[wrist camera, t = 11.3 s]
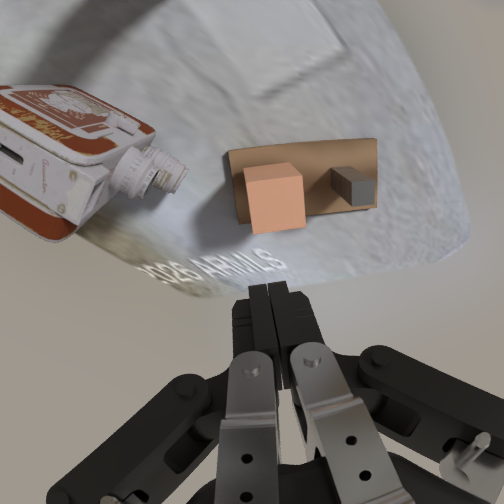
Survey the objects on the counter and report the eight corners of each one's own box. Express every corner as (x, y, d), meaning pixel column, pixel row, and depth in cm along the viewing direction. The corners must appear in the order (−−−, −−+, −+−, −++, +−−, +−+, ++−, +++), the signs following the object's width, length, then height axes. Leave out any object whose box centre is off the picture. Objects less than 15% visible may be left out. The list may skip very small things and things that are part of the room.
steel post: (330, 167, 35) (351, 182, 28) (350, 165, 35) (374, 180, 28) (331, 188, 36) (351, 206, 30) (351, 186, 36) (374, 204, 30)
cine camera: (166, 208, 37) (114, 306, 19) (46, 139, 31) (-65, 183, 13) (204, 144, 34) (173, 191, 16) (75, 75, 28) (-40, 73, 10)
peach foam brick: (243, 168, 33) (246, 182, 27) (289, 162, 33) (302, 175, 27) (249, 211, 36) (253, 234, 30) (293, 205, 36) (305, 227, 30)
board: (228, 150, 34) (228, 151, 33) (373, 138, 34) (376, 139, 33) (238, 221, 38) (239, 224, 37) (373, 205, 38) (376, 207, 37)
